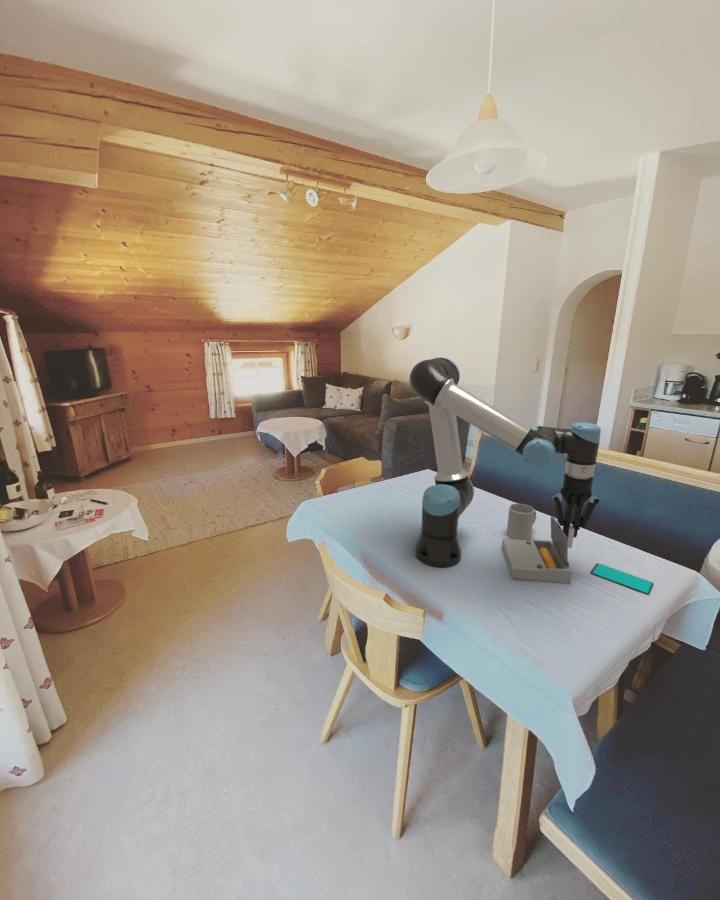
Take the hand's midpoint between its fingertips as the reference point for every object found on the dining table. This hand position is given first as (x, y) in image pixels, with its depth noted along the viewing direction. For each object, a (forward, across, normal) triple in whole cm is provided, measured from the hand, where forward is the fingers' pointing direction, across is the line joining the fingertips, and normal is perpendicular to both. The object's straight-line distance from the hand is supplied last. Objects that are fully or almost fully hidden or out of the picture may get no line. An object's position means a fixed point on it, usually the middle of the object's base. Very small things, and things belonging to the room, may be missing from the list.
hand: (567, 545), depth 123 cm
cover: (-2, -3, 0) cm, 4 cm away
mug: (+8, -9, +20) cm, 23 cm away
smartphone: (+9, +15, -4) cm, 18 cm away
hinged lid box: (+8, -9, 0) cm, 12 cm away
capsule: (+6, -5, 0) cm, 8 cm away
